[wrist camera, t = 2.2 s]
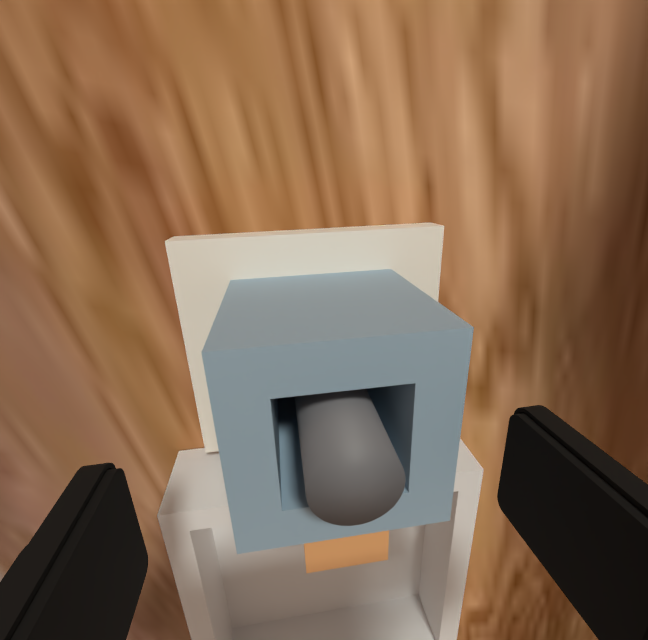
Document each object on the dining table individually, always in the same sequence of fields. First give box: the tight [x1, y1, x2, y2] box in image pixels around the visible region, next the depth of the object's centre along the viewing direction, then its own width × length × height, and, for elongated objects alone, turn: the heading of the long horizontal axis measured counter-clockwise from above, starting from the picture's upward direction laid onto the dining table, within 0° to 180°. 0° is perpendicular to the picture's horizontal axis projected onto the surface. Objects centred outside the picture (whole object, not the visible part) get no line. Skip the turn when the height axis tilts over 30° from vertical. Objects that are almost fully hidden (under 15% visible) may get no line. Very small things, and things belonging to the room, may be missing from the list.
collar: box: [201, 269, 474, 573], centre depth 12 cm, size 6×7×6 cm
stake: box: [165, 223, 444, 526], centre depth 12 cm, size 10×9×8 cm
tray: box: [157, 438, 484, 640], centre depth 18 cm, size 13×13×4 cm
